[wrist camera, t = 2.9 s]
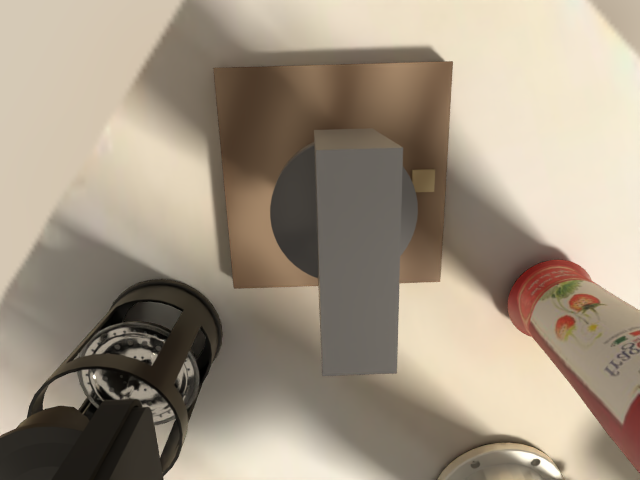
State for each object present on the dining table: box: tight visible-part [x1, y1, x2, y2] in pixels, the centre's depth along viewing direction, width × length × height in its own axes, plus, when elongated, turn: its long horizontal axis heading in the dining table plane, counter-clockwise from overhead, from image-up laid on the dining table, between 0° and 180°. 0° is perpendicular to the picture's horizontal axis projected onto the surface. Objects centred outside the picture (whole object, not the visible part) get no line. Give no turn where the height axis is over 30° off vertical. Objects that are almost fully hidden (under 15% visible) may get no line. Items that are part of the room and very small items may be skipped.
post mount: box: [214, 61, 453, 289], centre depth 31 cm, size 16×16×8 cm
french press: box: [0, 279, 222, 480], centre depth 28 cm, size 12×9×23 cm
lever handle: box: [270, 128, 418, 376], centre depth 22 cm, size 8×9×10 cm
